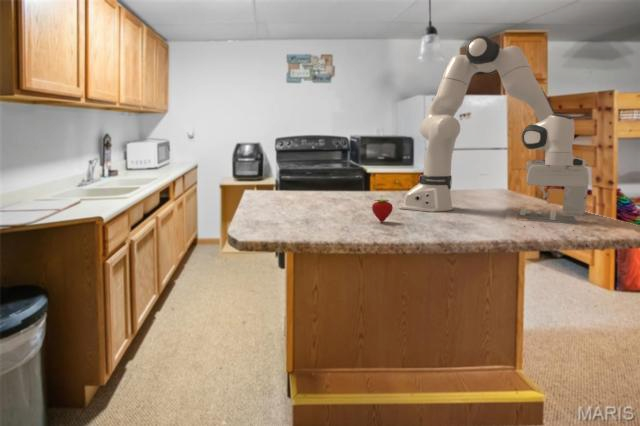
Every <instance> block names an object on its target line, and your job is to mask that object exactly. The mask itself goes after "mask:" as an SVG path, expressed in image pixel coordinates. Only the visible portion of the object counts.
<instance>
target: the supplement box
mask: <svg viewBox="0 0 640 426" xmlns="http://www.w3.org/2000/svg"><path fill="white" fill-rule="evenodd" d="M588 189H589V185H588V186H586V187H572V190H571V192H570V193H569V194H568V199H564V201H563V204H562V210H561V213H562V214H569V215H579V216H583V215H584V214H586V207H587V199H588V198H587V197H588ZM563 191H564V194H565V193H566V192H567V191H568V189H567V186H564V189H563Z"/></svg>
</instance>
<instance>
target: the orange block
mask: <svg viewBox="0 0 640 426" xmlns="http://www.w3.org/2000/svg"><path fill="white" fill-rule="evenodd" d="M546 193H548V198H546V203H547V204H552V205H553V204H554V205H555V204H556V205H563V201H564V189H552V188H551V189H550V188H549V189H547V192H546Z"/></svg>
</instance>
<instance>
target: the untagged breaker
mask: <svg viewBox="0 0 640 426" xmlns="http://www.w3.org/2000/svg"><path fill="white" fill-rule="evenodd" d="M525 211H526V205H520V212H519V213H520V215H524V216H525Z"/></svg>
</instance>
